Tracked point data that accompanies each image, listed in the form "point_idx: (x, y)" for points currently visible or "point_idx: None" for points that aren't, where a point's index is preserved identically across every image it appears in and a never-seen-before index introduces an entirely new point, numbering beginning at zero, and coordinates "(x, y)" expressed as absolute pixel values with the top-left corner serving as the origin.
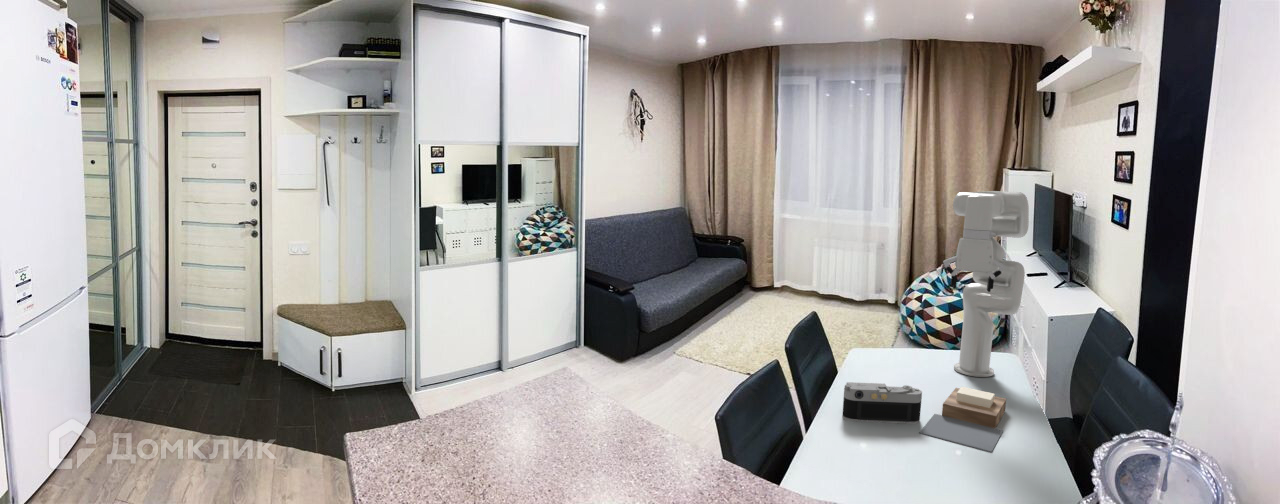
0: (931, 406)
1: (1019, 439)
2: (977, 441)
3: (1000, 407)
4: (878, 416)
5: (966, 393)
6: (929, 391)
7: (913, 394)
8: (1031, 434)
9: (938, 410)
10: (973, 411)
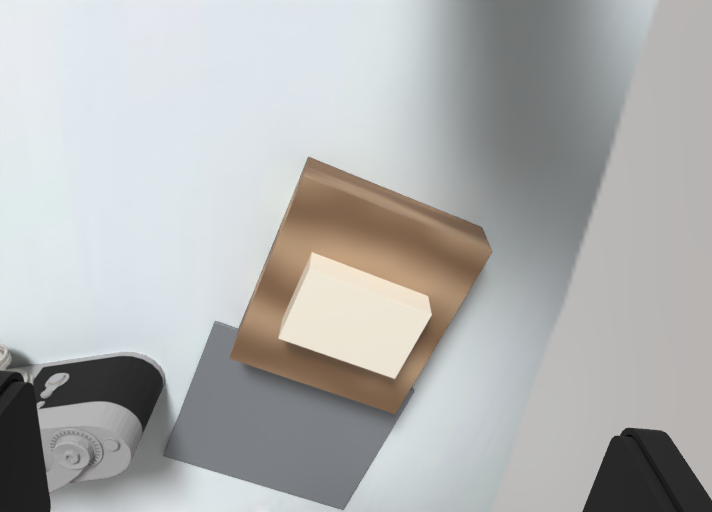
0: (208, 251)
1: (445, 425)
2: (318, 471)
3: (435, 343)
4: None
5: (315, 339)
6: (208, 79)
7: (102, 477)
8: (497, 387)
9: (231, 281)
10: (328, 390)
